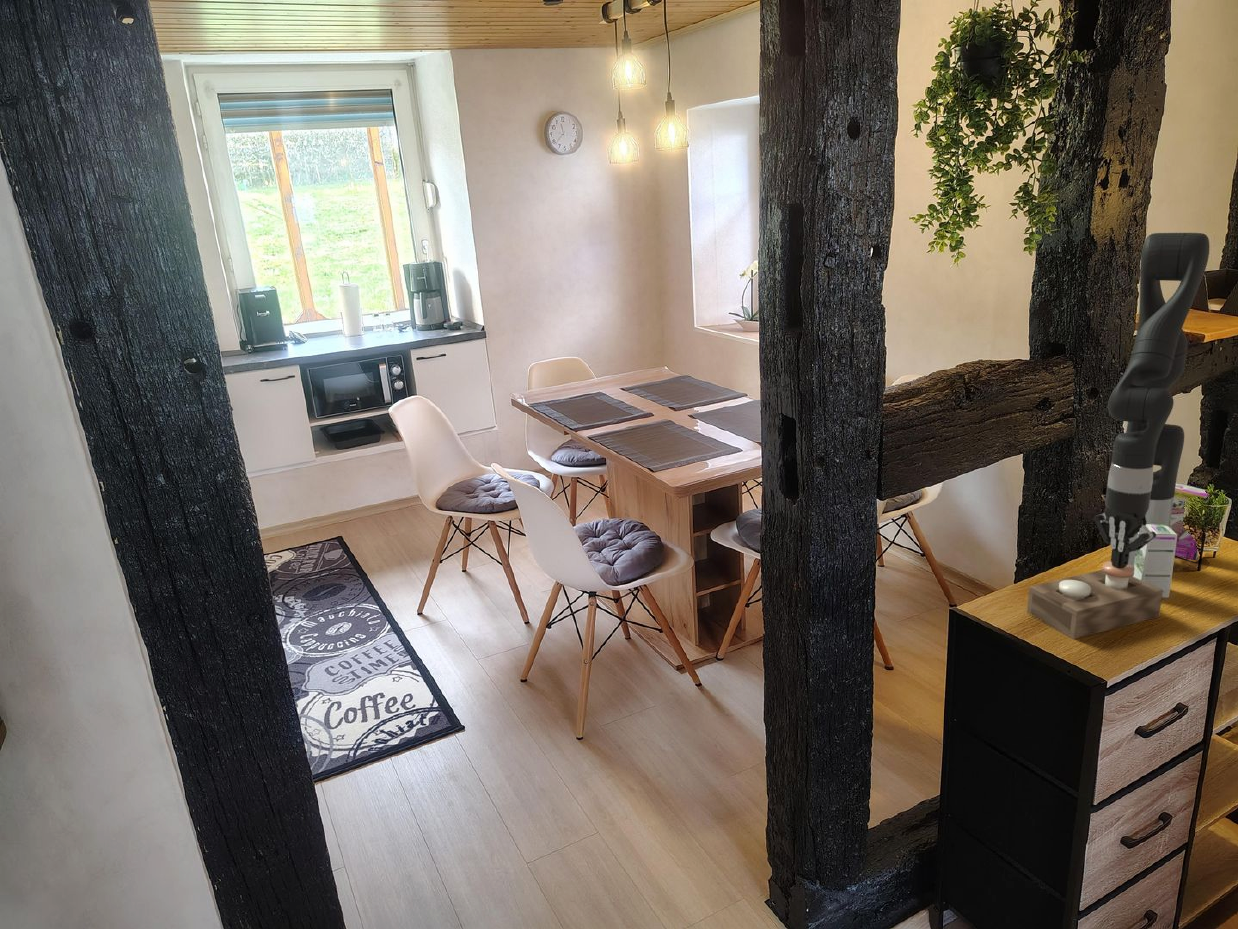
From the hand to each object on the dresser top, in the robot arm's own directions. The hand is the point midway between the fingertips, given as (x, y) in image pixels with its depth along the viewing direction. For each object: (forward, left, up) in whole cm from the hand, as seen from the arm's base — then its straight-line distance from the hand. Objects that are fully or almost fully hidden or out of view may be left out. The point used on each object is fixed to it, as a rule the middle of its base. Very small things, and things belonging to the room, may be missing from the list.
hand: (1118, 566), depth 174 cm
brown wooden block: (+5, 0, -10) cm, 11 cm away
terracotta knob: (0, 0, -7) cm, 7 cm away
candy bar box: (-36, -15, -10) cm, 40 cm away
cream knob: (+11, 0, -9) cm, 14 cm away
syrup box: (-14, -3, -10) cm, 17 cm away
